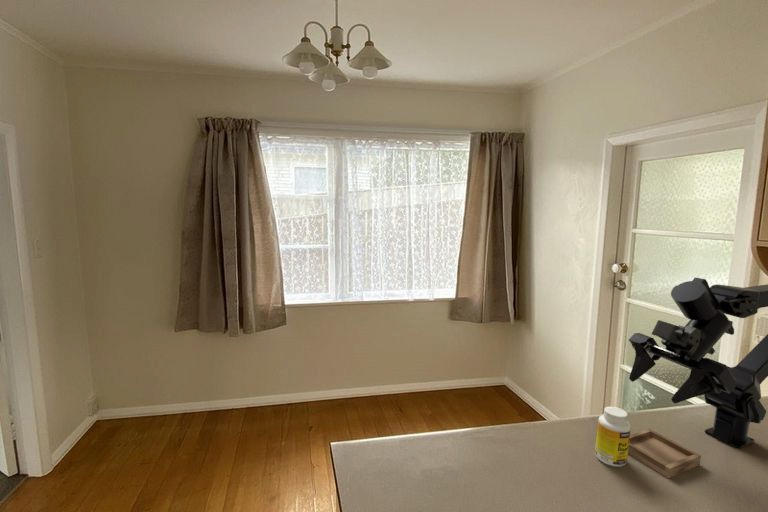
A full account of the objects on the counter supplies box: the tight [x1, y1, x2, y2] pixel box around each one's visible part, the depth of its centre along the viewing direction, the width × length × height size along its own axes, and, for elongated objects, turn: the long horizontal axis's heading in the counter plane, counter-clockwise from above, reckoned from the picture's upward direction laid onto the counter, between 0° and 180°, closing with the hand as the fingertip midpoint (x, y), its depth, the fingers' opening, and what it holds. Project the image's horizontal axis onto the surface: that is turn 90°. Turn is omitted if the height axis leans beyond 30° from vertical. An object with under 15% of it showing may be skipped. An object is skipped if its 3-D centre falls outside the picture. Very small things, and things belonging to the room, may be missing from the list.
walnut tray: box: [628, 428, 702, 479], centre depth 79 cm, size 10×10×2 cm
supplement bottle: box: [594, 406, 632, 468], centre depth 77 cm, size 6×6×10 cm
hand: (650, 390), depth 78 cm, fingers open, 9 cm apart
